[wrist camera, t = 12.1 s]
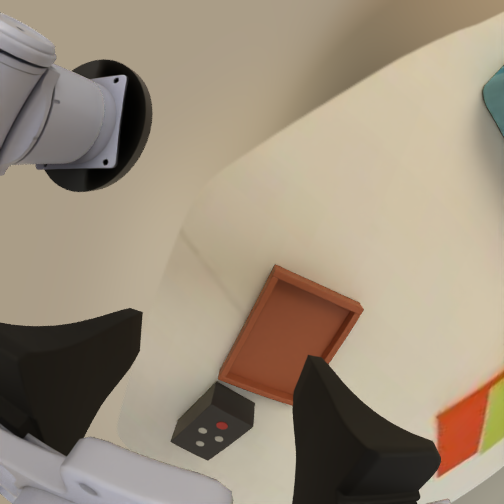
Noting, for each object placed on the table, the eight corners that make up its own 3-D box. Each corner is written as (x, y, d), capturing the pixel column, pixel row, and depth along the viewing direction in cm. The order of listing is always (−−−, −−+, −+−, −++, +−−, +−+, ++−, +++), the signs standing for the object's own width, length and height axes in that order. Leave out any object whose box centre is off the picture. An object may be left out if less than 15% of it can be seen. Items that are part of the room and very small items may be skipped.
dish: (295, 398, 23) (296, 407, 22) (219, 370, 23) (217, 379, 22) (359, 302, 21) (364, 309, 20) (275, 264, 21) (275, 269, 19)
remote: (212, 438, 25) (207, 461, 22) (177, 420, 25) (169, 442, 22) (255, 402, 24) (253, 427, 21) (216, 381, 23) (210, 405, 20)
